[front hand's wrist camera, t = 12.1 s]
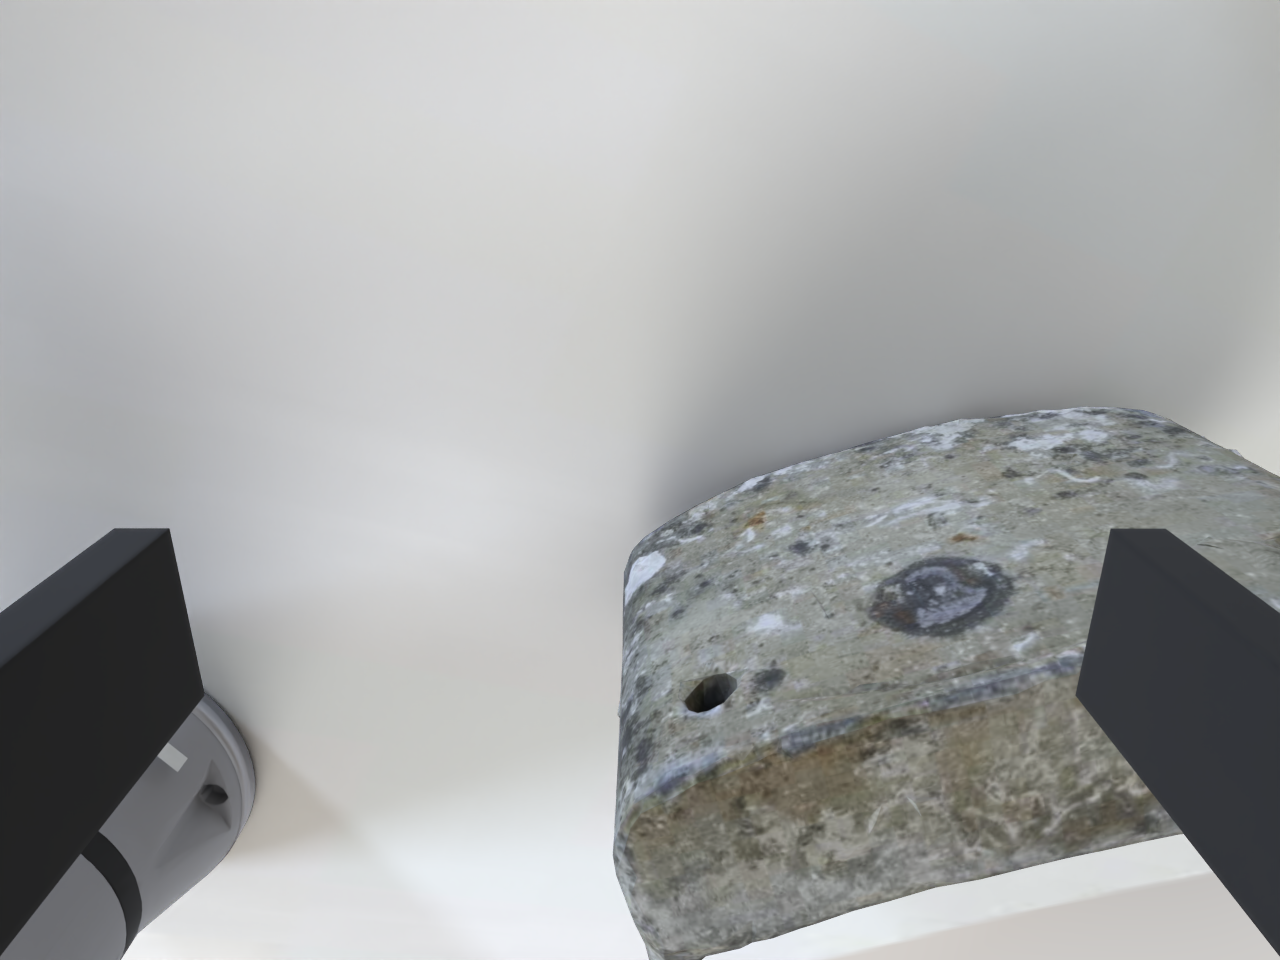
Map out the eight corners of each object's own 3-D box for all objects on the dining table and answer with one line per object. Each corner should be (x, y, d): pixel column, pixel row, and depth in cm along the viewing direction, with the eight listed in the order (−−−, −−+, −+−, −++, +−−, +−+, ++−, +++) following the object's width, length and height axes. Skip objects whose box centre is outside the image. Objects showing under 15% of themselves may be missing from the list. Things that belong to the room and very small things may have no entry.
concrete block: (1157, 361, 40) (1599, 550, 22) (1165, 530, 44) (1559, 823, 25) (599, 496, 43) (567, 771, 24) (644, 648, 46) (647, 995, 27)
